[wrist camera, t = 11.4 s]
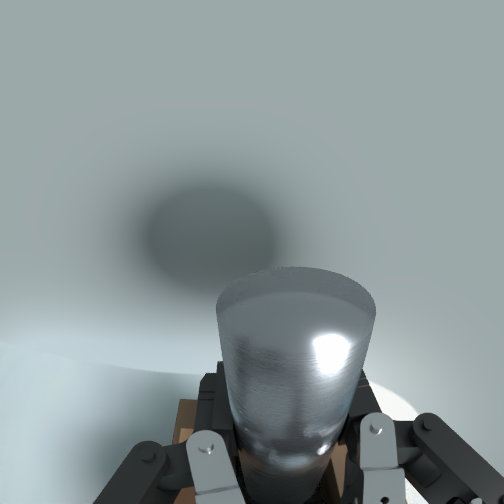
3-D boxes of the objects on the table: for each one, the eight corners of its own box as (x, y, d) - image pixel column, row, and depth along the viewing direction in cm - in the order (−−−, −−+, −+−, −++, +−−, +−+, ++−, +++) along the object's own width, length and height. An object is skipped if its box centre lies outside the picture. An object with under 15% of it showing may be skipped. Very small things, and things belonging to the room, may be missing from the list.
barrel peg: (245, 511, 10) (208, 360, 5) (244, 453, 13) (221, 270, 9) (323, 503, 10) (402, 340, 5) (312, 447, 13) (346, 263, 9)
